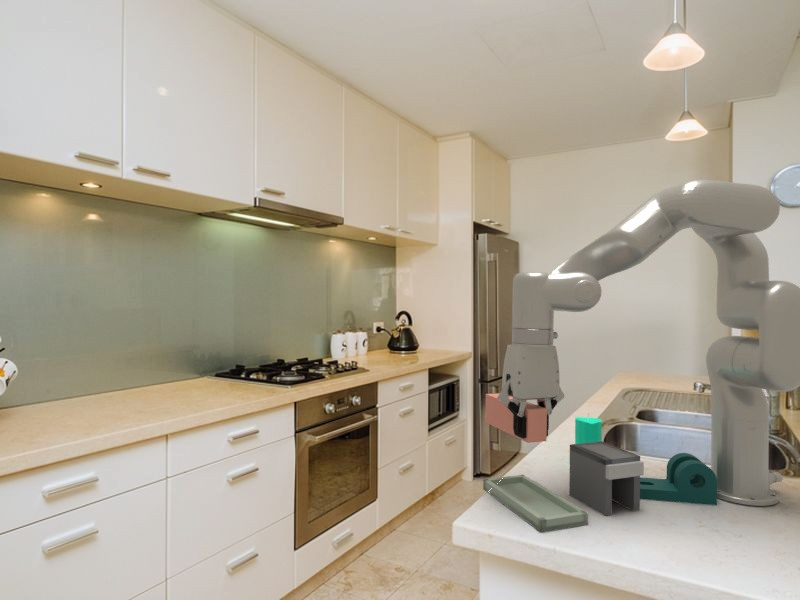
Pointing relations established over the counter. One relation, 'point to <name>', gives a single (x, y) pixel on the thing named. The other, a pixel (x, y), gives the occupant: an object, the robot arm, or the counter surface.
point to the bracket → (682, 482)
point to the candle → (588, 430)
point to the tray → (535, 503)
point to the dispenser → (605, 476)
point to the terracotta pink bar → (503, 418)
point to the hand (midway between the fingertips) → (530, 434)
